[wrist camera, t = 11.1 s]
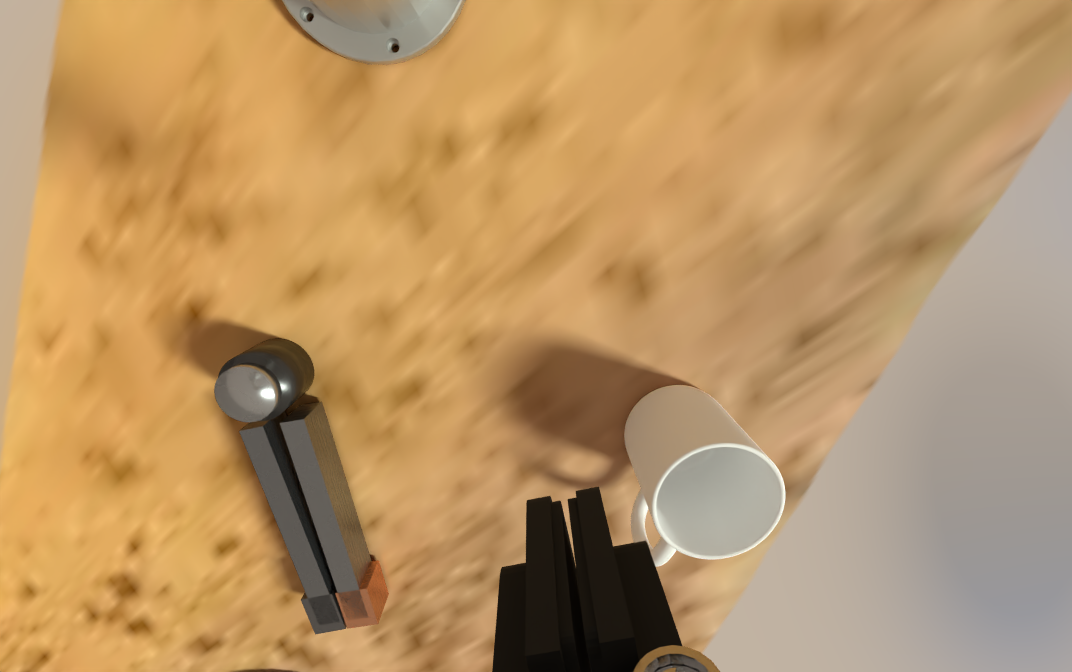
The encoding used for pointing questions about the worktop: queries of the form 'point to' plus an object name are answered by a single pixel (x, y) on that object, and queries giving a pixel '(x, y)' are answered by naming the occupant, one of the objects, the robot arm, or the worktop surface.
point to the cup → (699, 477)
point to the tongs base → (290, 479)
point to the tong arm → (314, 487)
